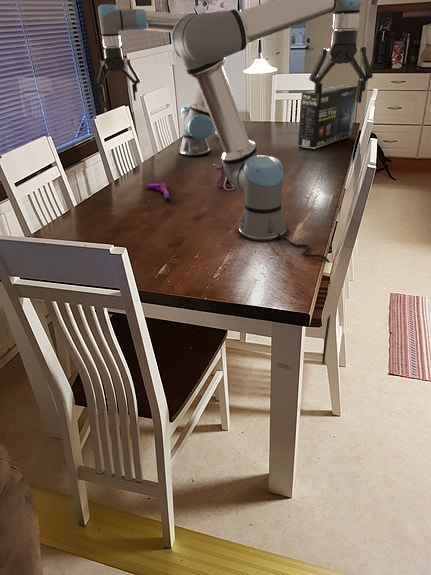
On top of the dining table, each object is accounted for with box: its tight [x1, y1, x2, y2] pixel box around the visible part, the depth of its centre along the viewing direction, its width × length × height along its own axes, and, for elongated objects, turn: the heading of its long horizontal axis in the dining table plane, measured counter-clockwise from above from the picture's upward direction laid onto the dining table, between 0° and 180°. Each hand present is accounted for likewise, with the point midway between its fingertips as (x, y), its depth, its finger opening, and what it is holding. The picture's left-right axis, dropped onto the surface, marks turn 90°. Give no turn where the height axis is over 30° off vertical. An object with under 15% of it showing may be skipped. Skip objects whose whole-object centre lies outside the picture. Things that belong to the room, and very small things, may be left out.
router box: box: [297, 84, 358, 151], centre depth 238 cm, size 36×11×27 cm, turn 134°
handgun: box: [147, 182, 171, 203], centre depth 184 cm, size 21×8×2 cm, turn 11°
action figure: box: [212, 159, 235, 191], centre depth 186 cm, size 8×9×12 cm
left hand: (119, 101), depth 204 cm, fingers open, 13 cm apart
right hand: (338, 103), depth 152 cm, fingers open, 13 cm apart
